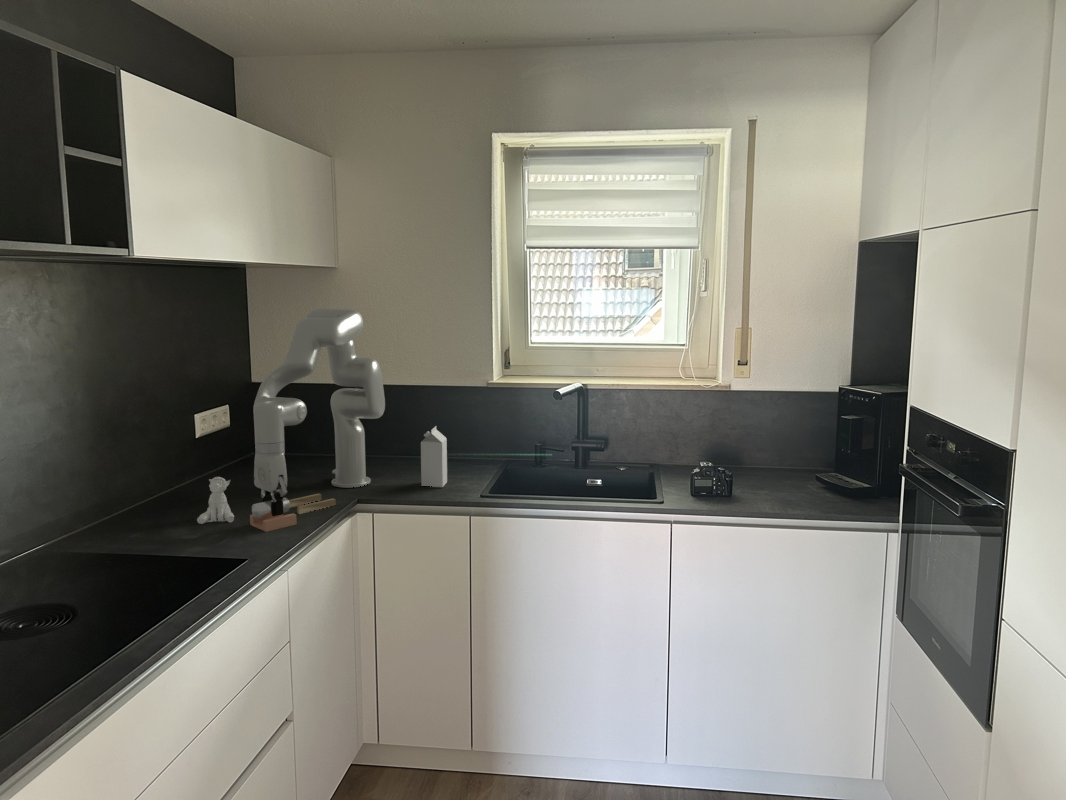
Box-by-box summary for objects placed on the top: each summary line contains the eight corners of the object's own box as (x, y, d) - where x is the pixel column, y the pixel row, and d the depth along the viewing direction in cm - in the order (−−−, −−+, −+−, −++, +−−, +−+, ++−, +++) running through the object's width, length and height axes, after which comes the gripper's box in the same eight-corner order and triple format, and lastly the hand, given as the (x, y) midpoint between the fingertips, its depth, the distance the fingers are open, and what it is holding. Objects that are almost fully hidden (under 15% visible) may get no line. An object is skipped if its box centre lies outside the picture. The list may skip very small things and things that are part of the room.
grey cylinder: (259, 520, 205) (259, 506, 204) (251, 516, 208) (251, 502, 207) (289, 513, 212) (290, 499, 211) (282, 509, 214) (282, 495, 213)
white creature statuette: (196, 524, 210) (194, 482, 208) (203, 515, 218) (200, 474, 217) (233, 522, 212) (231, 480, 210) (238, 513, 220) (236, 473, 219)
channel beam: (283, 507, 226) (282, 501, 226) (319, 499, 235) (318, 493, 234) (299, 514, 220) (299, 507, 220) (335, 505, 229) (335, 499, 228)
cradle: (250, 525, 210) (249, 515, 209) (280, 517, 216) (280, 508, 216) (266, 531, 204) (265, 521, 204) (296, 524, 211) (296, 514, 210)
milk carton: (447, 482, 256) (446, 426, 254) (442, 487, 249) (442, 430, 247) (426, 481, 257) (425, 425, 254) (421, 487, 250) (420, 429, 247)
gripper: (241, 445, 210) (245, 510, 213) (273, 454, 199) (276, 523, 202) (267, 441, 215) (270, 504, 218) (299, 450, 204) (301, 516, 207)
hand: (273, 512), depth 210 cm, fingers closed on grey cylinder, 4 cm apart
